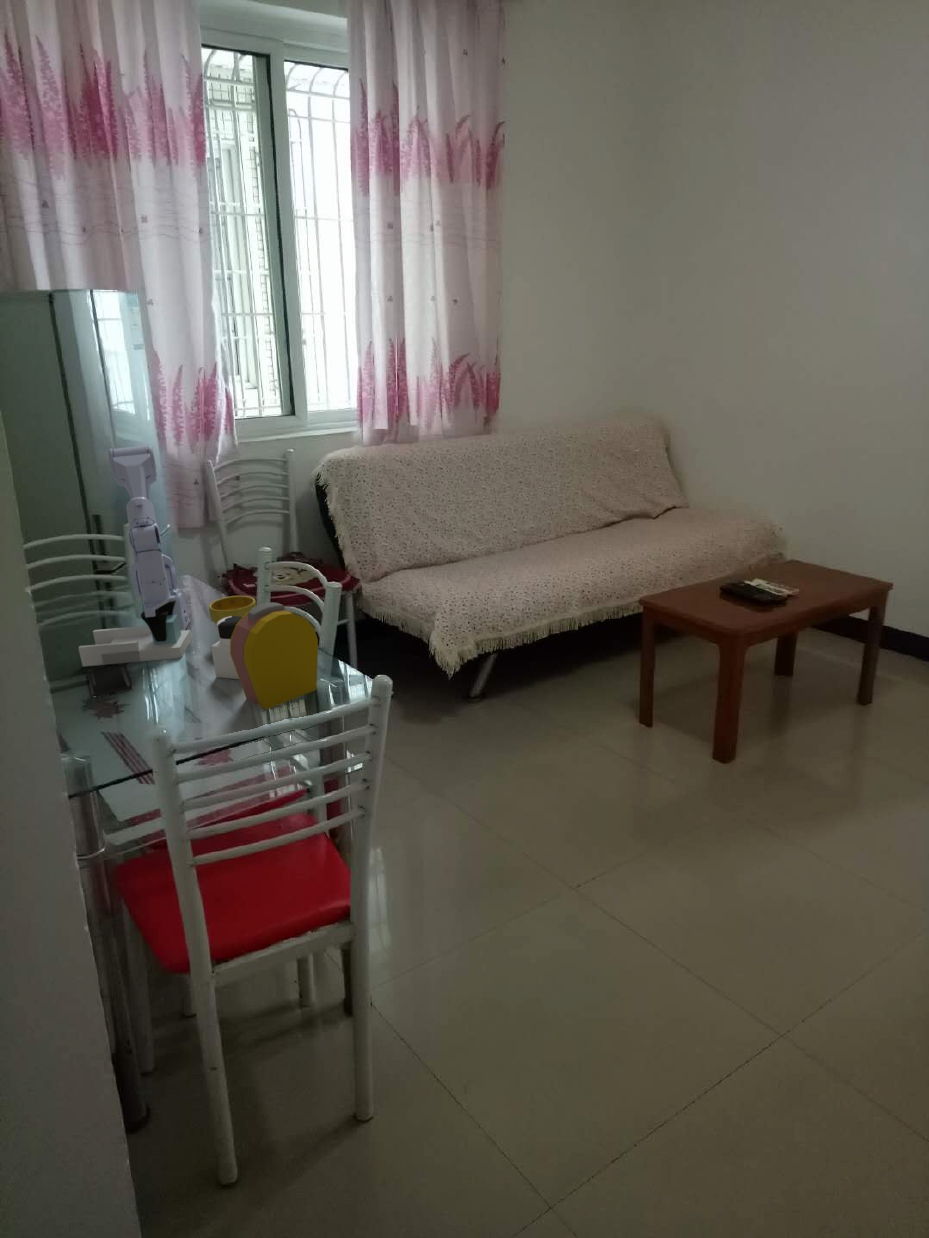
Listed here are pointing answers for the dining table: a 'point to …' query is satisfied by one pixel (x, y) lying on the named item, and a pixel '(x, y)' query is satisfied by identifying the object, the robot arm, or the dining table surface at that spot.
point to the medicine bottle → (225, 648)
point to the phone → (109, 680)
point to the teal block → (170, 630)
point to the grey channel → (130, 646)
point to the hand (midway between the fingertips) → (164, 636)
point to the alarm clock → (274, 655)
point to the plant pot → (230, 607)
